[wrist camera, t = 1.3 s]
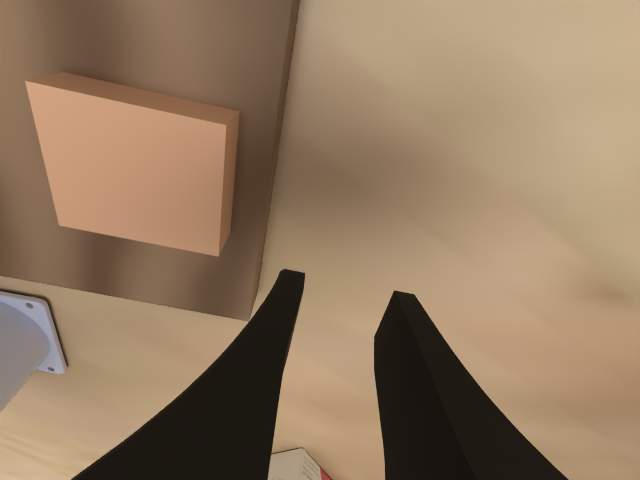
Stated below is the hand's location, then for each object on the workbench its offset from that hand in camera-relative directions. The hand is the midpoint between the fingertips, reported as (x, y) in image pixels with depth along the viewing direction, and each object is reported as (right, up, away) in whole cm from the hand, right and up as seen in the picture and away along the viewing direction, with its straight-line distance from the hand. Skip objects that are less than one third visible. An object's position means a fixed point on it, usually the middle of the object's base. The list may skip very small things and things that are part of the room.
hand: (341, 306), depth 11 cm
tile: (-8, +5, +5) cm, 11 cm away
